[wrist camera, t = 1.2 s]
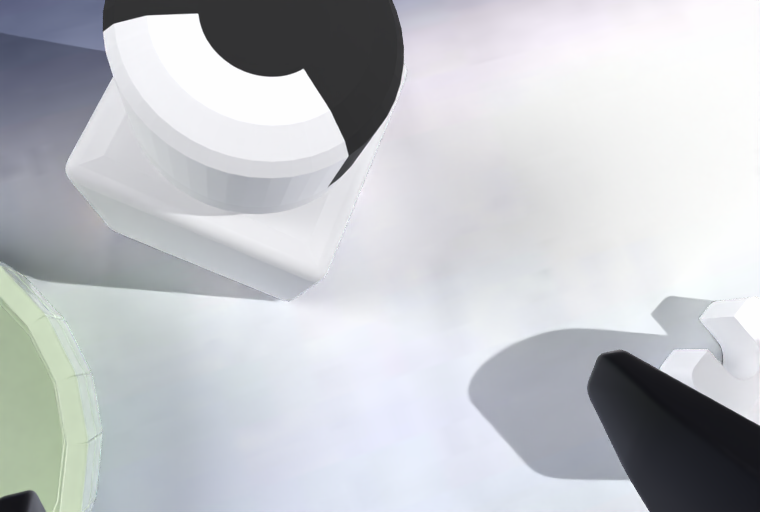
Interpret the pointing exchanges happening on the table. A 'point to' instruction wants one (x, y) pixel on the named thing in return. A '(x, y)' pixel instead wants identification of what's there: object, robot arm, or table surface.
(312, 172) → the medicine bottle
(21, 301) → the bowl
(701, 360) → the cable organizer
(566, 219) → the table surface
